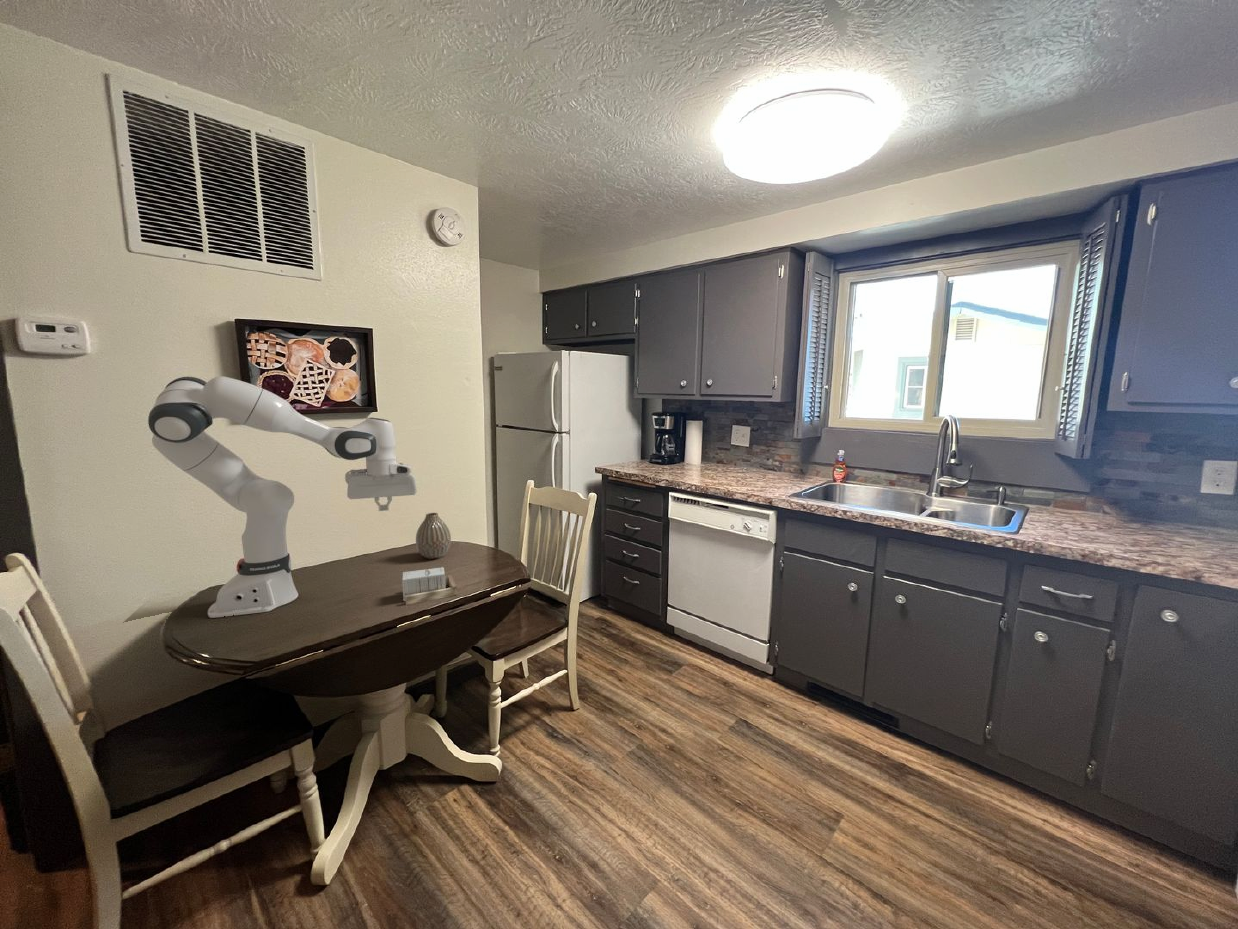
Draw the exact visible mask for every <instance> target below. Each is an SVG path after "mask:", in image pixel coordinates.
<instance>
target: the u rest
mask: <svg viewBox="0 0 1238 929" xmlns="http://www.w3.org/2000/svg"><path fill="white" fill-rule="evenodd" d="M447 586H449V587H447ZM445 587H447V588H446V589H440V590H434V591H429V592H423V593H418V594H412V595H406V596H405V600H406V601H405V605H408V606H409V605H412V604H418V603H417V602H419V603H422V601H424V602H427V601H428V602H429V601H434V600H439V599H444V598H451V597H455V596H454V595H456V596H458V585H457V584H456V582H455V579H454V578H453V576H452V574H450V575H449V574H448V575H447V576H445Z"/></svg>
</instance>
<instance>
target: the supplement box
mask: <svg viewBox="0 0 1238 929" xmlns="http://www.w3.org/2000/svg"><path fill="white" fill-rule="evenodd" d="M445 577H446V574H445V568H444V567H443V566H442V567H434V568H428V569H418V570H409V571H403V572H402V578H401V579H402V580H401V581H402V582H401V583H402V584H401V585H402V597H403V598H402V599H403V602H406V600H405V596H406V595H412V594H418V593H423V592H429V591H434V590H440V589H446V587H447V586H445Z"/></svg>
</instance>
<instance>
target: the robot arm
mask: <svg viewBox="0 0 1238 929" xmlns="http://www.w3.org/2000/svg"><path fill="white" fill-rule="evenodd" d="M219 418H220V419H227V420H231V421H233V422H235V423H238V424H241V425H244V426H247V427H249V428H252V429H255V430H256V429H257V430H259V431H264V432H270V433H284V434H290V435H294V436H297V437H300V438H303V439H305V440H307V441H310V442H312V443H316V444H317V445H320V446H321V447H323V448H324V449H325V450H326V451H327V452H328V453H329V455H331V456H333V457H335V458H339V459H343V460H346V461H356V460H358V459H359V460H360V459H364V458H365V466H366V468H360V469H350V470H349V471H347V472H346V473H345V476H344V479H345V480H344V481H345V483H346V484H347V493H346V494H347V495H346V496H347V498H348V499H349V500H360V499H361V500H363V499H372V498H373V500H374V503H375V504H376V505H377V507H378V512H383V511H385V512H386V511H389V510H390V509H389V506H390V504H391V502H392V500H393V497H403V496H415V495H416V493H417V492H418V490H417V483H416V479H415V476H414V475H413V473H412V466H410V465H408V464H404V463H403V462H402V463H400V462H397V456H396V452H395V449H396V446H397V445H396V444H397V442H396V433H395V428H394V425H393V423H392V422H391V421H390V420H388V419H384V418H378V417H368V418H366V419H365V420H363V421H362V422H360V423H357V424H356V425H353V426H350V427H344V426H330V425H326V424H324V423H321V422H320V421H316V420H314V419H312V418H310V417H307V416H305V415H303V414H301V413H300V412H298V411H297V410H296V409H294V407H293V406H292V405H291V403H290V402H289V401H288V400H286V399H284V398H282V397H281V396H279V395H277V394H275V393H273V392H271V391H270V390H267V389H265V388H262V387H260V386H258V385H255V384H252V383H249V382H246V381H242V380H240V379H237V378H233V377H232V378H231V377H229V376H223V375H222V376H220V375H219V376H215V377H213V378H211V379H210V380H208V381H207V382H206V381H205V380H203V379H201V378H199V377H195V376H182V377H177V378H175V379H173V380H172V381H170V382H169V383H168V384H167V385H166V386H165V388H163V390H162V391H161V392H160V393H159V394H158V396H157V397H156V400H155V403H154V405H153V408H152V409H151V410H150V412H149V414H148V420H147V423H148V428H149V430H150V431H151V433H152V434H153V435H152V438H151V443H152V446H153V447H154V448H155V449H156V450H157V451H158V452H159V453H160V454H161V455H162V456H163V457H165V459H166V460H168V461H169V462H170V463H172V464H173V465H174V466H176V467H177V468H179V469H180V470H182V471H183V472H185V473H186V474H188V475H190V476H191V477H192V478H193V479H195V480H197V481H198V482H200V483H201V484H203V485H204V486H206V487H207V488H209V489H210V490H211V491H212V492H213V493H215V494H216V495H217V496H218V497H219V498H221V499H222V500H224V501H225V502H226V503H227V504H229V505H230V506H232V507H233V508H234V509H235V510H236V511H237V510H238V511H240V512H242V513H246V522H245V527H244V531H243V533H242V535H241V543H242V545H241V546H242V551H243V552H242V553H243V557H242V558H240V559H239V560H238V561H237V564H236V572H237V574H235V575H234V576H233V577H232V578H230V580H228V581H227V582H226V583H225V584H224V585H222V586H221V588H220V589H219V590H218V592H217V596H216V601H215V602H214V603H213V604H211V605H210V607H209V608H208V609H207V616H208V617H209V618H211V619H213V618H223V617H224V616H225V617H232V616H233V615H234V616H241V615H249V614H259V613H268V612H271V611H272V610H274V609H276V608H278V607H281V606H283V605H286V604H289V603H291V602H293V601H295V600H296V599H297V598H298V597H299V593H298V591H297V588H296V586H295V582H294V580H293V577H292V576H293V575H292V573H291V571H292V560H291V556H290V553H289V551H288V542H287V522H288V517H289V512H290V510H291V509H292V508H293V505H294V503H295V494H294V492H293V491H292V489H290V488H289V487H288V486H287V485H285V484H284V483H283V482H280V481H278V480H272V479H267V478H263V477H261V476H259V475H257V474H256V473H255V472H253V471H252V469H251V468H249V467H248V466H247V465H246V463H245V462H244V460H243V459H242V458H241V457H240V456H238V455H236V453H234V452H233V451H231V450H230V449H229V448H228V447H225V446H224V444H222V443H221V442H219V441H218V440H216V439H215V438H214V437H212V436H211V435H209V434H208V433H207V432H206V431H205V430H206V429H208V428H209V427H211V426H212V425H213V422H214V419H219ZM380 498H386V500H387V502H386V503H385V504H381V503H380V502H379V501H380Z"/></svg>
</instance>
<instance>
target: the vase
mask: <svg viewBox="0 0 1238 929" xmlns="http://www.w3.org/2000/svg"><path fill="white" fill-rule="evenodd" d="M451 543H452V537H451V531H450V530H449V527H448V526H447V524H446V523H445V522H444V521H443V520H442V519H441V518H440V517H439V513H437V512H428V513H426V514H425V517H424V519H423V521H422V522H421V524H420V526H419V527H418V529H417V530H416V534H415V546H416V549H417V551H418V552H419V554H420V555H421V556H423V557H424V558H426V559H427V558H428V559H427V560H435V559H434V558H437V559H440V558H443V557H444V556H445V555H446V554H447V552H448V551H449V549H450V547H451Z"/></svg>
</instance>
